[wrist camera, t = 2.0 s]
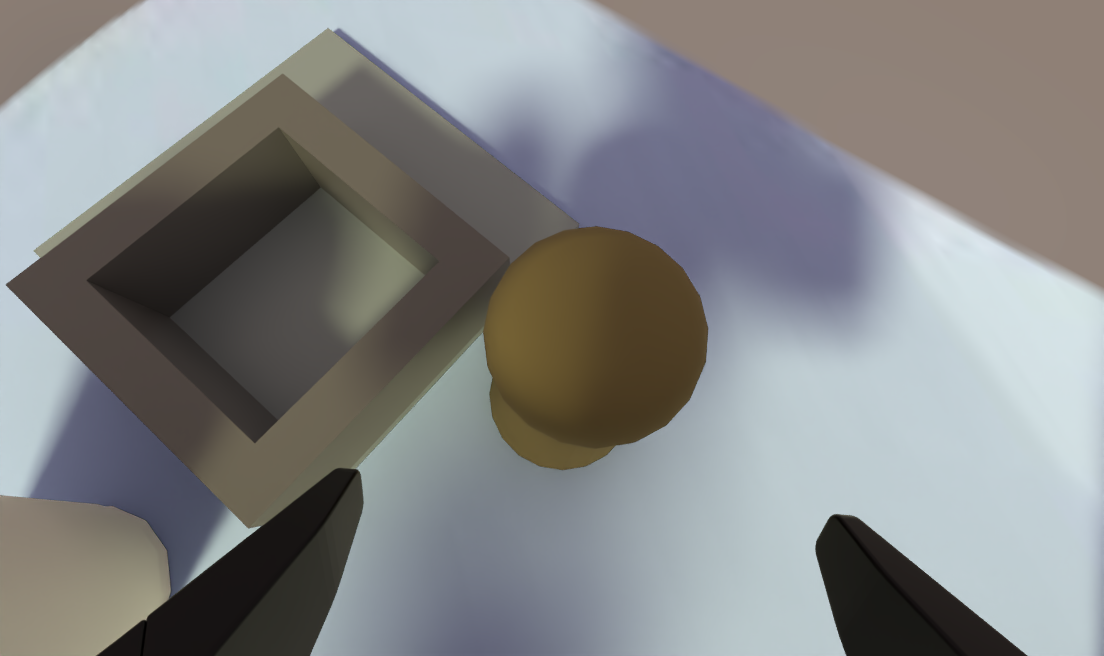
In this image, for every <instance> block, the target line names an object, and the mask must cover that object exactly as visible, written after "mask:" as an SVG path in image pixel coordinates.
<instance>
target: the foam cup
mask: <svg viewBox="0 0 1104 656" xmlns="http://www.w3.org/2000/svg"><path fill="white" fill-rule="evenodd" d="M170 593H171V586H170V576H169V566H168V556H167V550H166V549H165V547H164V546H163V544H162V543H161V541H160V540H159V539H158V537H157V536H156V534H155V533H154V531H153V530H152V529H151V527H150V526H149V524H148V523H147V521H146V520H143V519H141V518H139V517H136V516H134V515H132V514H129V513H127V512H125V511H123V510H120V509H118V508H116V507H113V506H105V507H104V506H102V505H99V504H90V503H79V502H68V501H57V500H46V499H35V498H24V497H13V496H2V495H0V656H96V655H97V654H99V653H100V652H101V651H103V650H104V649H105V648H107V647H108V646H109V645H111V644H112V643H113V642H114V641H116V640H117V639H118V638H120V637H121V636H122V635H123V634H125V633H126V632H127V631H129V630H130V629H131V628H132V627H134V626H135V625H136V624H137V623H139V622H140V621H141V620H146V621H147V617H148V615H149V614H150V613H152V612H153V611H154V610H156V609H157V608H158V607H159V606H161V605H162V604H163V603H164V602H166V601H167V600H168V599H169V596H170Z"/></svg>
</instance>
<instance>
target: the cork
mask: <svg viewBox="0 0 1104 656" xmlns="http://www.w3.org/2000/svg"><path fill="white" fill-rule="evenodd" d="M483 334H484V342H485V350H486V358H487V366H488V368H489V371H490V373H491V375H492V377H493V378H492V384H491V389H490V402H491V410H492V417H493V419H494V421H495V424H496V426H497V428H498V430H499V432H500V434H501V436H502V438H503V439H504V440H505V441H506V442H507V443H508V445H509V446H510V447H511V448H512V449H513V450H514V451H515V452H516V453H517V454H518V455H519V456H521V457H523V458H525V459H527V460H529V461H531V462H532V463H534V464H536V465H538V466H541V467H547V468H553V469H559V470H566V469H572V468H578V467H584V466H587V465H589V464H591V463H593V462H595V461H597V460H598V459H600V458H602V457H604V456H606V455H607V454H608V453H609V452H610V451H611V450H612V449H613V448H614V447H615V446H616V445H623V444H629V443H634V442H636V441H638V440H640V439H642V438H644V437H646V436H648V435H649V434H651V433H653V432H655V431H657V430H659V429H661V428H662V427H664V426H666V425H667V424H668V423H669V422H670V421H671V420H672V419H673V417H674V416H675V415H676V414H677V413H678V412H679V411H680V410H681V409H682V408H683V407H684V405H685V404H686V403H687V402H688V401H689V400H690V398H691V395H692V393H693V391H694V388H695V386H696V384H697V381H698V379H699V377H700V374H701V372H702V370H703V367H704V365H705V363H706V352H707V338H708V326H707V322H706V318H705V314H704V310H703V306H702V302H701V298H700V296H699V294H698V292H697V291H696V289H695V287H694V286H693V284H692V283H691V281H690V279H689V278H688V276H687V274H686V273H685V271H684V269H683V268H682V267H681V266H680V265H679V264H677V263H676V262H675V261H674V260H673V259H672V258H671V257H670V256H669V255H667V254H666V253H665V252H664V251H663V250H662V249H661V248H660V247H659V246H657V245H655V244H653V243H651V242H648V241H646V240H644V239H642V238H640V237H638V236H636V235H634V234H632V233H630V232H626V231H621V230H615V229H609V228H603V227H598V226H595V227H586V228H578V229H569V230H563V231H561V232H559V233H556V234H554V235H552V236H549V237H547V238H545V239H542V240H540V241H538V242H536V243H534V244H533V245H532V246H531V247H529V248H528V249H527V250H526V251H525V252H524V253H523V254H521V255H520V256H519V257H518V258H517V259H516V260H515V261H513V262H512V263H511V264H510V266H509V267H508V269H507V270H506V272H505V274H504V275H503V277H502V279H501V281H500V282H499V284H498V286H497V287H496V289H495V291H494V292H493V294H492V296H491V298H490V301H489V306H488V310H487V315H486V320H485V325H484V330H483Z"/></svg>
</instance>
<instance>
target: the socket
mask: <svg viewBox="0 0 1104 656" xmlns="http://www.w3.org/2000/svg"><path fill="white" fill-rule="evenodd" d="M578 227H579V223H577V222H576V221H575V220H574V219H572V218H571V217H570V216H568V215H567V214H566V213H565V212H563V211H562V210H561V209H559V208H558V207H557V206H556V205H554V204H553V203H552V202H550V201H549V200H548V199H547V198H545V197H544V196H543V195H542V194H540V193H539V192H538V191H536V190H535V189H534V188H533V187H531V186H530V185H529V184H527V183H526V182H525V181H524V180H522V179H521V178H520V177H518V176H517V175H516V174H515V173H513V172H512V171H511V170H509V169H508V168H507V167H506V166H504V165H503V164H502V163H501V162H499V161H498V160H497V159H495V158H494V157H493V156H492V155H490V154H489V153H488V152H486V151H485V150H484V149H483V148H481V147H480V146H479V145H477V144H476V143H475V142H474V141H472V140H471V139H470V138H468V137H467V136H466V135H465V134H463V133H462V132H461V131H459V130H458V129H457V128H456V127H454V126H453V125H452V124H451V123H449V122H448V121H447V120H445V119H444V118H443V117H442V116H440V115H439V114H438V113H436V112H435V111H434V110H433V109H431V108H430V107H429V106H427V105H426V104H425V103H424V102H422V101H421V100H420V99H418V98H417V97H416V96H415V95H413V94H412V93H411V92H410V91H408V90H407V89H406V88H404V87H403V86H402V85H401V84H399V83H398V82H397V81H395V80H394V79H393V78H392V77H390V76H389V75H388V74H386V73H385V72H384V71H383V70H381V69H380V68H379V67H377V66H376V65H375V64H374V63H372V62H371V61H370V60H368V59H367V58H366V57H365V56H363V55H362V54H361V53H360V52H358V51H357V50H356V49H354V48H353V47H352V46H351V45H349V44H348V43H347V42H345V41H344V40H343V39H342V38H340V37H339V36H338V35H336V34H335V33H334V32H333V31H331V30H330V29H329V28H328V29H326V30H325V31H324V32H322V33H321V34H320V35H318V36H317V37H316V38H314V39H313V40H312V41H310V42H309V43H308V44H306V45H305V46H304V47H302V48H301V49H300V50H298V51H297V52H296V53H295V54H293V55H292V56H291V57H289V58H288V59H287V60H285V61H284V62H283V63H281V64H280V65H279V66H277V67H276V68H275V69H273V70H272V71H271V72H269V73H268V74H267V75H265V76H264V77H263V78H261V79H260V80H259V81H257V82H256V83H255V84H253V85H252V86H251V87H250V88H248V89H247V90H246V91H244V92H243V93H242V94H240V95H239V96H238V97H236V98H235V99H234V100H232V101H231V102H230V103H228V104H227V105H226V106H224V107H223V108H222V109H220V110H219V111H218V112H216V113H215V114H214V115H212V116H211V117H210V118H208V119H207V120H206V121H204V122H203V123H202V124H201V125H199V126H198V127H197V128H195V129H194V130H193V131H191V132H190V133H189V134H187V135H186V136H185V137H183V138H182V139H181V140H179V141H178V142H177V143H175V144H174V145H173V146H171V147H170V148H169V149H167V150H166V151H165V152H163V153H162V154H161V155H159V156H158V157H157V158H156V159H154V160H153V161H152V162H150V163H149V164H148V165H146V166H145V167H144V168H142V169H141V170H140V171H138V172H137V173H136V174H134V175H133V176H132V177H130V178H129V179H128V180H126V181H125V182H124V183H122V184H121V185H120V186H118V187H117V188H116V189H114V190H113V191H112V192H110V193H109V194H108V195H107V196H105V197H104V198H103V199H101V200H100V201H99V202H97V203H96V204H95V205H93V206H92V207H91V208H89V209H88V210H87V211H85V212H84V213H83V214H81V215H80V216H79V217H77V218H76V219H75V220H73V221H72V222H71V223H69V224H68V225H67V226H65V227H64V228H63V229H62V230H60V231H59V232H58V233H56V234H55V235H54V236H52V237H51V238H50V239H48V240H47V241H46V242H44V243H43V244H42V245H40V246H39V247H38V248H36V249H35V250H34V252H35V253H36V254H37V255H38V256H39V257H40V259H39V260H37V261H36V262H35V263H33V264H32V265H31V266H29V267H28V268H27V269H25V270H24V271H23V272H22V273H20V274H19V275H18V276H16V277H15V278H14V279H12V280H11V281H10V282H8V283H7V284H6V286H7V287H8V288H9V289H10V290H11V291H12V292H13V293H14V294H15V295H16V296H17V297H18V298H19V299H20V300H21V301H22V302H23V303H24V304H25V305H26V306H27V307H28V308H29V309H30V310H31V311H32V312H33V313H34V314H35V315H36V316H37V317H38V318H39V319H40V320H41V321H42V322H43V323H44V324H45V325H46V326H47V327H48V328H49V329H50V330H51V331H52V332H53V333H54V334H55V335H56V336H57V337H58V338H59V339H60V340H61V341H62V342H63V343H64V344H65V345H66V346H67V347H68V348H69V349H70V350H71V351H72V352H73V353H74V354H75V355H76V356H77V357H78V358H79V359H80V360H81V361H82V362H83V363H84V364H85V365H86V366H87V367H88V368H89V369H90V370H91V371H92V372H93V373H94V374H95V375H96V376H97V377H98V378H99V379H100V380H101V381H102V382H103V383H104V384H105V385H106V386H107V387H108V388H109V389H110V390H111V391H112V392H113V393H114V394H115V395H116V396H117V397H118V398H119V399H120V400H121V401H122V402H123V403H124V404H125V405H126V406H127V407H128V408H129V409H130V410H131V411H132V412H133V413H134V414H135V415H136V416H137V417H138V418H139V419H140V420H141V421H142V422H143V423H144V424H145V425H146V426H147V427H148V428H149V429H150V430H151V431H152V432H153V433H154V434H155V435H156V436H157V437H158V438H159V439H160V440H161V441H162V442H163V443H164V444H165V445H166V446H167V447H168V448H169V449H170V450H171V451H172V452H173V453H174V454H175V455H176V456H177V457H178V458H179V459H180V460H181V461H182V462H183V463H184V464H185V465H186V466H187V467H188V468H189V469H190V470H191V471H192V472H193V473H194V474H195V475H196V476H197V477H198V478H199V479H200V480H201V481H202V482H203V483H204V484H205V485H206V486H207V487H208V488H209V489H210V490H211V491H212V492H213V493H214V494H215V495H216V496H217V497H218V498H219V499H220V500H221V501H222V502H223V503H224V504H225V505H226V506H227V507H228V508H229V509H230V510H231V511H232V512H233V513H234V514H235V515H236V516H237V518H238V519H239V520H240V521H241V522H242V523H243V524H244V525H245V526H246V527H247V528H253V527H258V526H263V525H264V524H265V523H266V522H268V521H269V520H270V519H271V518H273V517H274V516H275V515H277V514H278V513H279V512H280V511H282V510H283V509H284V508H285V507H287V506H288V505H289V504H291V503H292V502H293V501H294V500H296V499H297V498H298V497H299V496H301V495H302V494H303V493H305V492H306V491H307V490H308V489H310V488H311V487H312V486H314V485H315V484H316V483H317V482H319V481H320V480H321V479H322V478H324V477H325V476H326V475H328V474H329V473H330V472H331V471H333V470H334V469H336V468H349V469H356V468H357V467H358V466H359V464H360V463H361V462H362V461H363V460H364V459H365V458H366V457H367V456H368V455H369V454H370V453H371V452H372V451H373V449H374V448H375V447H376V446H377V445H378V444H379V443H380V442H381V441H382V440H383V439H384V438H385V437H386V435H387V434H388V433H389V432H390V431H391V430H392V429H393V428H394V427H395V426H396V425H397V424H398V423H399V422H400V420H401V419H402V418H403V417H404V416H405V415H406V414H407V413H408V412H409V411H410V410H411V409H412V408H413V407H414V405H415V404H416V403H417V402H418V401H419V400H420V399H421V398H422V397H423V396H424V395H425V394H426V393H427V391H428V390H429V389H430V388H431V387H432V386H433V385H434V384H435V383H436V382H437V381H438V380H439V379H440V378H441V376H442V375H443V374H444V373H445V372H446V371H447V370H448V369H449V368H450V367H451V366H452V365H453V364H454V363H455V361H456V360H457V359H458V358H459V357H460V356H461V355H462V354H463V353H464V352H465V351H466V350H467V349H468V347H469V346H470V345H471V344H472V343H473V342H474V341H475V340H476V339H477V338H478V337H479V336H480V335H481V334H482V332H483V330H484V325H485V320H486V315H487V310H488V306H489V301H490V298H491V296H492V294H493V292H494V291H495V289H496V287H497V286H498V284H499V282H500V281H501V279H502V277H503V275H504V274H505V272H506V270H507V269H508V267H509V266H510V264H511V263H512V262H513V261H515V260H516V259H517V258H518V257H519V256H520V255H521V254H523V253H524V252H525V251H526V250H527V249H528V248H529V247H531V246H532V245H533V244H534V243H536V242H538V241H540V240H542V239H545V238H547V237H549V236H552V235H554V234H556V233H559V232H561V231H563V230H569V229H578Z"/></svg>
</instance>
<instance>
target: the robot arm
mask: <svg viewBox="0 0 1104 656" xmlns="http://www.w3.org/2000/svg"><path fill="white" fill-rule="evenodd" d="M362 509H363V491H362V482H361V474H360V472H359V471H358V470H356V469H349V468H336V469H334V470H333V471H331V472H330V473H329V474H328V475H326V476H325V477H324V478H322V479H321V480H320V481H319V482H317V483H316V484H315V485H314V486H312V487H311V488H310V489H308V490H307V491H306V492H305V493H303V494H302V495H301V496H299V497H298V498H297V499H296V500H294V501H293V502H292V503H291V504H289V505H288V506H287V507H285V508H284V509H283V510H282V511H280V512H279V513H278V514H277V515H275V516H274V517H273V518H271V519H270V520H269V521H268V522H266V523H265V524H264V525H263V526H261V527H260V528H259V529H257V530H256V531H255V532H254V533H252V534H251V535H250V536H249V537H247V538H246V539H245V540H243V541H242V542H241V543H240V544H238V545H237V546H236V547H235V548H233V549H232V550H231V551H229V552H228V553H227V554H226V555H224V556H223V557H222V558H221V559H219V560H218V561H217V562H215V563H214V564H213V565H212V566H210V567H209V568H208V569H207V570H205V571H204V572H203V573H201V574H200V575H199V576H198V577H196V578H195V579H194V580H193V581H191V582H190V583H189V584H187V585H186V586H185V587H184V588H182V589H181V590H180V591H179V592H177V593H176V594H175V595H173V596H172V597H171V598H170V599H168V600H167V601H166V602H164V603H163V604H162V605H161V606H159V607H158V608H157V609H156V610H154V611H153V612H152V613H150V614H149V615H148V617H147V621H146V620H141V621H140V622H139V623H137V624H136V625H135V626H134V627H132V628H131V629H130V630H129V631H127V632H126V633H125V634H123V635H122V636H121V637H120V638H118V639H117V640H116V641H114V642H113V643H112V644H111V645H109V646H108V647H107V648H105V649H104V650H103V651H101V652H100V653H99V654H97V655H96V656H310V654H311V652H312V649H313V647H314V645H315V643H316V640H317V638H318V636H319V633H320V631H321V629H322V626H323V624H324V622H325V619H326V617H327V615H328V613H329V610H330V608H331V605H332V603H333V600H334V598H335V595H336V593H337V590H338V587H339V584H340V581H341V578H342V574H343V571H344V568H345V565H346V562H347V558H348V555H349V552H350V549H351V546H352V542H353V539H354V536H355V533H356V530H357V526H358V523H359V520H360V517H361V514H362ZM815 550H816V556H817V560H818V563H819V567H820V571H821V574H822V578H823V581H824V585H825V588H826V592H827V596H828V599H829V603H830V606H831V610H832V613H833V617H834V621H835V624H836V627H837V630H838V634H839V637H840V640H841V642H842V645H843V648H844V651H845V653H846V656H1027V655H1026V654H1025V653H1023V652H1022V651H1021V650H1020V649H1019V648H1017V647H1016V646H1015V645H1014V644H1012V643H1011V642H1010V641H1009V640H1008V639H1006V638H1005V637H1004V636H1003V635H1001V634H1000V633H999V632H998V631H996V630H995V629H994V628H993V627H992V626H990V625H989V624H988V623H987V622H985V621H984V620H983V619H982V618H980V617H979V616H978V615H977V614H976V613H974V612H973V611H972V610H971V609H969V608H968V607H967V606H966V605H964V604H963V603H962V602H961V601H960V600H958V599H957V598H956V597H955V596H953V595H952V594H951V593H950V592H949V591H947V590H946V589H945V588H944V587H942V586H941V585H940V584H939V583H937V582H936V581H935V580H934V579H933V578H931V577H930V576H929V575H928V574H926V573H925V572H924V571H923V570H921V569H920V568H919V567H918V566H917V565H915V564H914V563H913V562H912V561H910V560H909V559H908V558H907V557H906V556H904V555H903V554H902V553H901V552H899V551H898V550H897V549H896V548H894V547H893V546H892V545H891V544H890V543H888V542H887V541H886V540H885V539H883V538H882V537H881V536H880V535H878V534H877V533H876V532H875V531H874V530H872V529H871V528H870V527H869V526H867V525H866V524H865V523H864V522H863V521H861V520H860V519H859V518H857V517H855V516H851V515H841V514H834V515H832V516H830V518H829V519H828V521H827V523H826V524H825V526H824V528H823V530H822V532H821V533H820V535H819V537H818V539H817V541H816V546H815Z"/></svg>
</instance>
